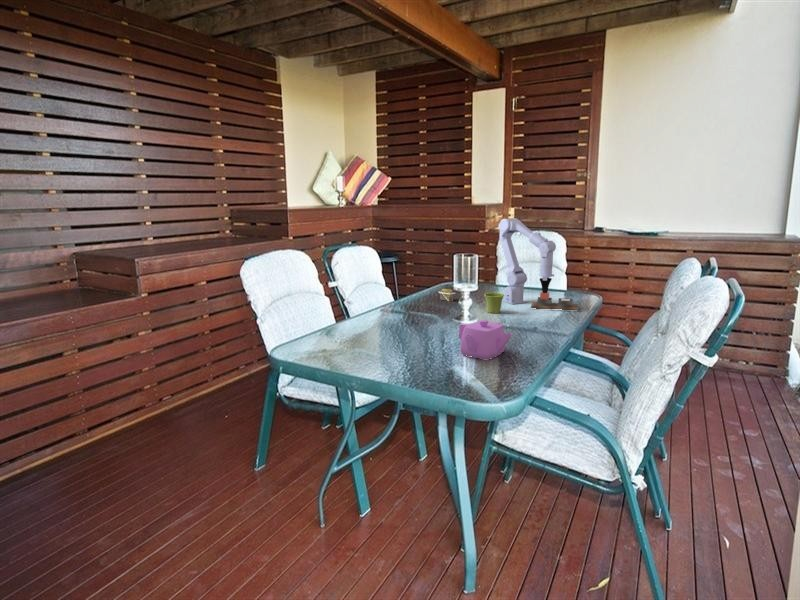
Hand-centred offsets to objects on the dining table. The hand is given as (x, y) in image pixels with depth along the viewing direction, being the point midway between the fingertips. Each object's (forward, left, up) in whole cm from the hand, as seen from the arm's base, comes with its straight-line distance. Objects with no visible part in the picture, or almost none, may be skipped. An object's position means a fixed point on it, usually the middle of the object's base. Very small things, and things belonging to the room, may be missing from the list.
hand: (544, 292), depth 252 cm
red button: (0, 0, -3) cm, 3 cm away
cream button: (+7, -7, -6) cm, 12 cm away
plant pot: (-29, +4, -8) cm, 30 cm away
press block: (+3, -3, -8) cm, 9 cm away
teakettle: (-71, -47, -8) cm, 85 cm away
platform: (-35, +37, -8) cm, 52 cm away
